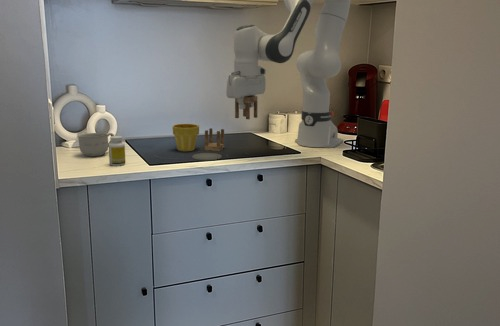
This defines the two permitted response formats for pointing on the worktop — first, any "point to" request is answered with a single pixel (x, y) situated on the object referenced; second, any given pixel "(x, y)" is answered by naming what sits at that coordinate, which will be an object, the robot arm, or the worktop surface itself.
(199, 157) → the mat
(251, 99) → the stool
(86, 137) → the teacup
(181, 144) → the plant pot
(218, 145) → the upturned stool
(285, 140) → the worktop surface
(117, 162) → the supplement bottle
